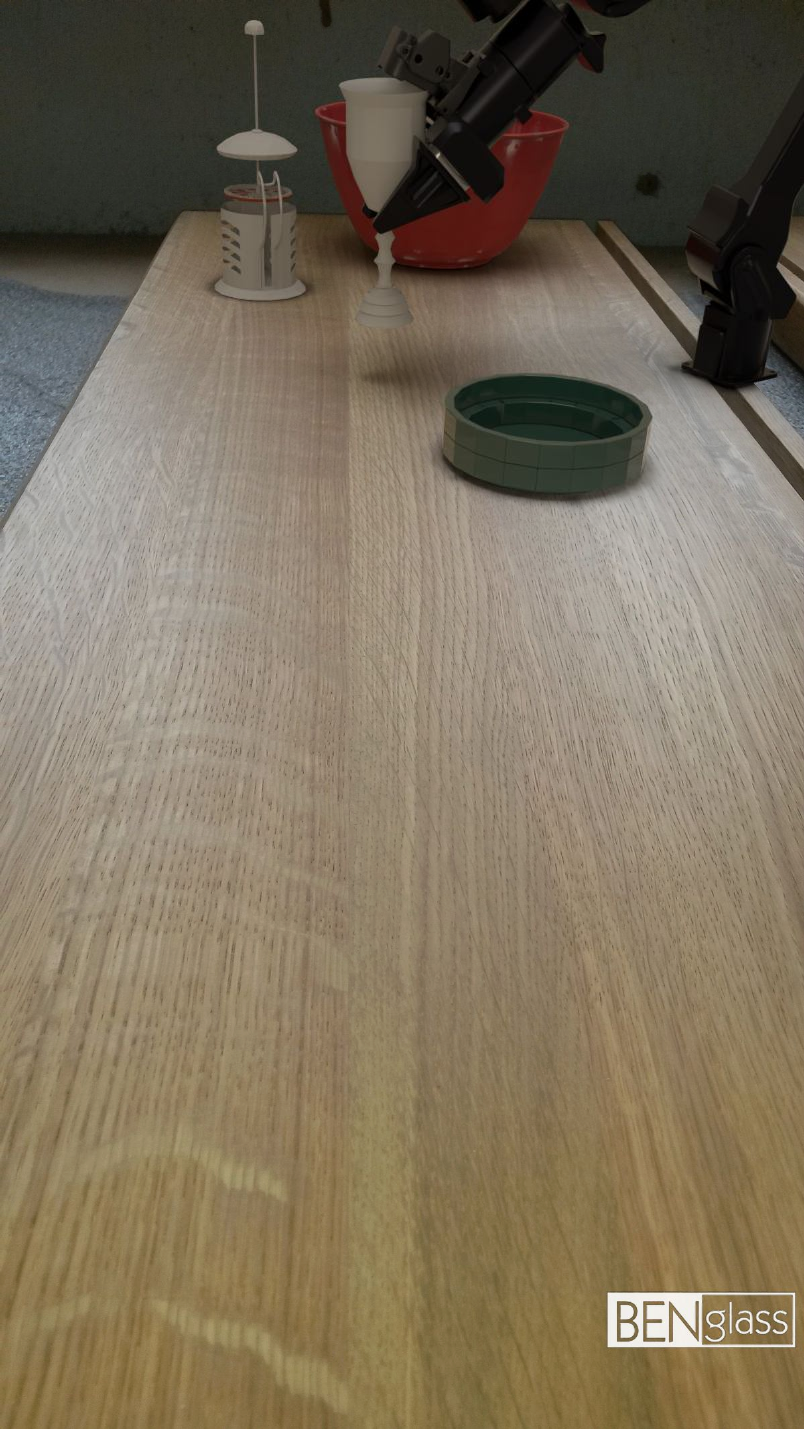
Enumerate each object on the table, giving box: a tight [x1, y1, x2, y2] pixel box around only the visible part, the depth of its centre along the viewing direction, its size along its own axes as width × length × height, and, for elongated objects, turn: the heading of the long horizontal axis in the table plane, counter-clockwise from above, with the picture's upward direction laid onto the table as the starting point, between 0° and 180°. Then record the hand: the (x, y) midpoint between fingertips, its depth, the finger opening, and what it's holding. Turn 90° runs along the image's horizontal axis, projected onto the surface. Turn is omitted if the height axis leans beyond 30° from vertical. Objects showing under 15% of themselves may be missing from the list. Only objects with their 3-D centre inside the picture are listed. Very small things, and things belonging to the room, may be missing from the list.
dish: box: [441, 372, 654, 495], centre depth 92 cm, size 15×15×4 cm
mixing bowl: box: [314, 101, 570, 270], centre depth 141 cm, size 28×28×16 cm
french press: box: [214, 19, 307, 301], centre depth 123 cm, size 10×12×25 cm
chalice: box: [338, 77, 430, 330], centre depth 99 cm, size 7×7×18 cm
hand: (370, 221), depth 99 cm, fingers closed on chalice, 5 cm apart
